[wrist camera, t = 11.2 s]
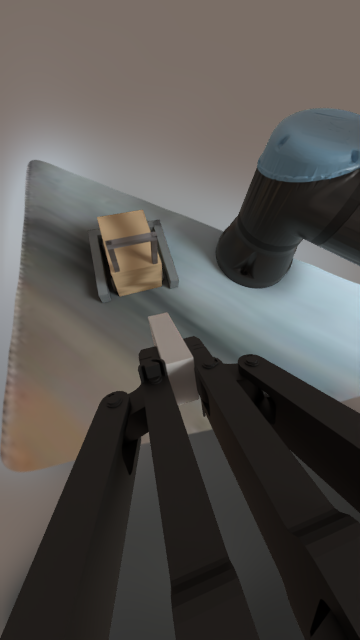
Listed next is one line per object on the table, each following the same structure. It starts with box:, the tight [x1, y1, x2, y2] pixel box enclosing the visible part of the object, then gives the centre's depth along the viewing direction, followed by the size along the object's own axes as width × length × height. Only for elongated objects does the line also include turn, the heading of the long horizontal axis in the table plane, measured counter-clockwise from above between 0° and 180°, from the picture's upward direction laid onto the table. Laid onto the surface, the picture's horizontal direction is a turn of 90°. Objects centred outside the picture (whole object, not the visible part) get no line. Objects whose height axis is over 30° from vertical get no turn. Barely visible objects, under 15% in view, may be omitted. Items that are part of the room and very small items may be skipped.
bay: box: [88, 220, 179, 303], centre depth 42 cm, size 14×14×2 cm
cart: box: [97, 210, 164, 296], centre depth 37 cm, size 9×12×13 cm
